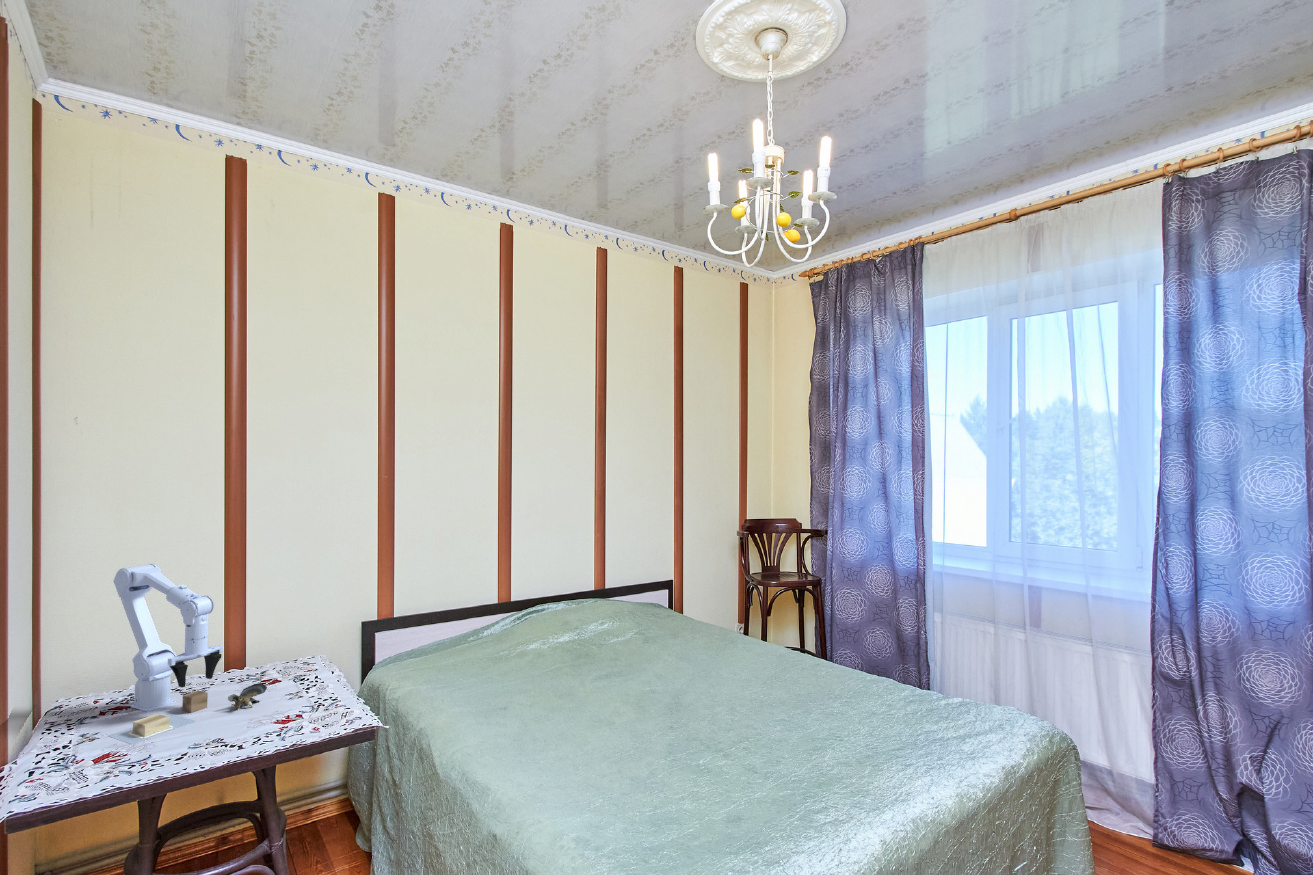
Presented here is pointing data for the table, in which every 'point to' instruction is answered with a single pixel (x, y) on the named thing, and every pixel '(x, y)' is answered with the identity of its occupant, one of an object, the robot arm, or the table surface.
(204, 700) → the walnut block
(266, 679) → the table surface
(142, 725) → the oak slab
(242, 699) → the eagle figurine
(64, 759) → the table surface
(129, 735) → the board
